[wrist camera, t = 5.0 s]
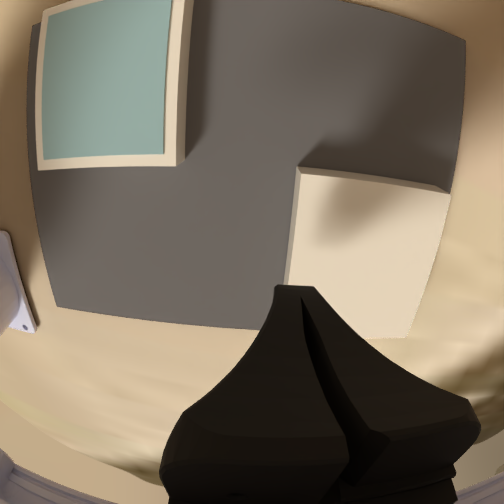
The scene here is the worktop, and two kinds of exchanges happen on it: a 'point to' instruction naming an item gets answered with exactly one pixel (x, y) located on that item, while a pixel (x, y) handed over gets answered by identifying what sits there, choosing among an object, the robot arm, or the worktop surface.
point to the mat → (249, 157)
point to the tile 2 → (365, 245)
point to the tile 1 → (112, 83)
